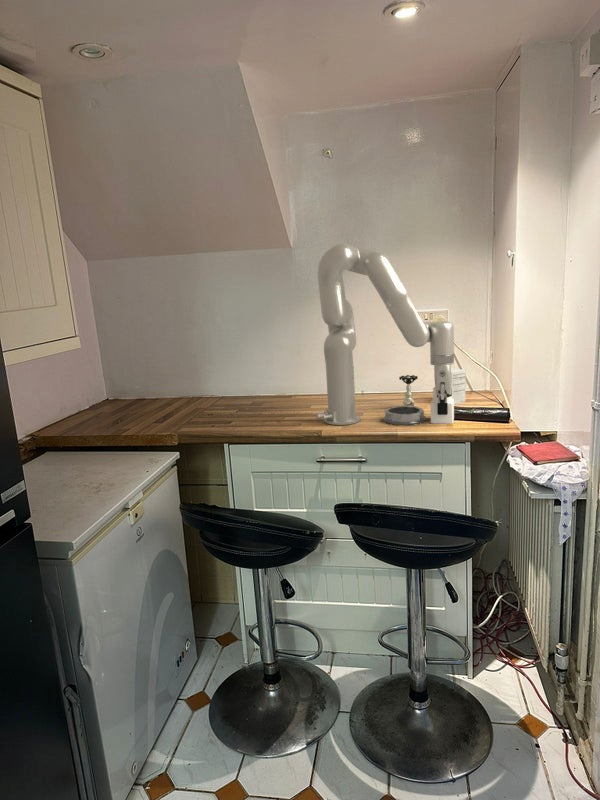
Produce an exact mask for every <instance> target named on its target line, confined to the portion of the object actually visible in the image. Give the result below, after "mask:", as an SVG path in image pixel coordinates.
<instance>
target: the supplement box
mask: <svg viewBox="0 0 600 800" xmlns="http://www.w3.org/2000/svg"><path fill="white" fill-rule="evenodd" d="M466 373H467V371H466V369H461V368H455V367H451V388H452V398H453V399H454V406H455V405H458V404H459V403H460V404H463V402H464V403H466V384H467V383H466V380H467V378H466ZM460 404H459V405H460Z"/></svg>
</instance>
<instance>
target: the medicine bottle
mask: <svg viewBox="0 0 600 800" xmlns="http://www.w3.org/2000/svg"><path fill="white" fill-rule="evenodd" d="M444 386H445V385H444ZM440 387H441V385H440ZM439 393H441V392H439ZM444 393H446V389H445V392H444ZM437 403H438V395H437V394H436V389H435V386H434V387H433V388H432V398H431V402H430V424H437V425H438V424H440V425H441V424H442V425H453V423H454V420H455V405H454V399H453V398H452V388H451V394H450V395H449V394H447V403H448V414H447V415H438V407H437Z"/></svg>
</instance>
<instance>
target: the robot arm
mask: <svg viewBox="0 0 600 800" xmlns="http://www.w3.org/2000/svg"><path fill="white" fill-rule="evenodd" d="M345 271H348V272H352V273H355V274H359V275H364V276H367V278H368V279H369V280H370V282H371V284H372V286H373V287H374V289H375V290H376V291H377V293H378V296H379V298H380V299H381V301H382V302H383V304H384V305H385V307H386V309H387V311H388V313H389V314H390V315H391V317H392V319H393V321H394V323H395V325H396V326H397V328H398V330H399V332H400V333H401V335H402V337H404V340H405V341H406V342H407V343H408V345H410V346H411V347H413V348H421V347H423V346H425V345H426V344H427V343H429V344H430V345H429V349H430V352H429V358H430V364H429V365H432V366H433V367H434V368H433V369H434V371H433V376H434V378H433V379H434V387H435V389H436V394H437V395H438V403H437V407H438V415H447V414H448V403H447V394H449V395H450V394H451V368H452V365H454V364H455V345H454V344H455V336H454V335H455V327H454V323H453V322H451V321H449V320H447V321H445V320H444V321H443V320H442V321H441V320H440V321H434V322H431V321H430V322H429V321H423V320H422V318H421V316H420V315H419V314H418V312H417V310H416V308H415V306H414V304H413V301H412V299H411V296H410V293H409V291H408V288H407V287H406V286H405V284H404V282H403V280H402V278H400V275H399V273H397V271H396V269H395V267H394V265H393V264H392V261H391V258H390V257H389V256H388V254H386V253H384V252H380V251H375V250H370V249H365V248H363V247H359V246H356V245H352V244H349V243H339V244H335V245H333V246H332V247H329V249H328V250H326V252H324V254H323V255H322V256H321V258H320V260H319V263H318V266H317V282H318V291H319V292H318V293H319V301H320V310H321V318H322V320H323V322H324V324H326V325H327V329H328V335H327V336H326V338H325V340H324V342H323V355H324V361H325V362H324V363H325V374H326V377H325V378H326V388H327V389H326V393H327V408H325V411H323V412H318V413H315V419H317V420H321V419H323V421H324V423H325V424H327V425H333V426H347V425H353V424H357V423H358V422H360V421H361V416H360V414H359V415H358V414H356V396H355V395H356V393H355V392H356V391H355V370H354V368H355V367H354V357H353V356H354V355H353V351H354V349H355V348H356V346H357V345H356V344H357V335H356V333H357V332H356V325H355V317H354V311H353V306H352V304H351V303H350V302H349V301H348V299H347V298H346V292H345V291H346V290H345V283H344V278H343V275H344V272H345ZM440 385H441V387H440ZM444 385H445V386H444ZM445 389H446V393H444V392H445ZM439 392H441V393H439Z"/></svg>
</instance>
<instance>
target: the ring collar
mask: <svg viewBox="0 0 600 800" xmlns="http://www.w3.org/2000/svg"><path fill="white" fill-rule="evenodd" d="M425 421H426V416H425V411H424V408H421V407H418V406H415V405H414V406H404V405H400V406H398V405H396V406H393V407H392V406H391V407H388V408H387V409H384V417H383V422H384V423H385V424H387V425H391V424H392V425H391V426H398V425H409V426H415V425H414V424H417V425H421V424H423V423H425ZM420 423H421V424H420Z"/></svg>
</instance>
